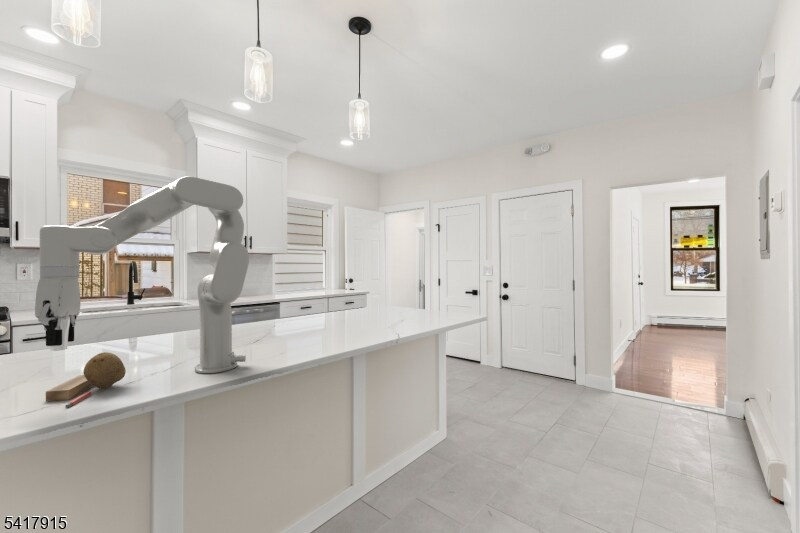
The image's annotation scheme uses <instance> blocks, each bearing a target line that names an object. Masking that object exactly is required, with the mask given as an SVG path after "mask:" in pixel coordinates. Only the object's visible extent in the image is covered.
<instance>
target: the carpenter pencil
mask: <svg viewBox="0 0 800 533" xmlns="http://www.w3.org/2000/svg"><path fill="white" fill-rule="evenodd" d="M91 395H92V391H87V392H84V393H83V394H82V395H80V396H78V397H76V398H74V399H73V400H70V401H69V402H68V403H67V404H65V406H64V407H65V408H67V409H68V408H70V407H72V406H74V405H76V404H77V403H79V402H81V401H83V400H84V399H86V398H88V397H90V396H91Z"/></svg>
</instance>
